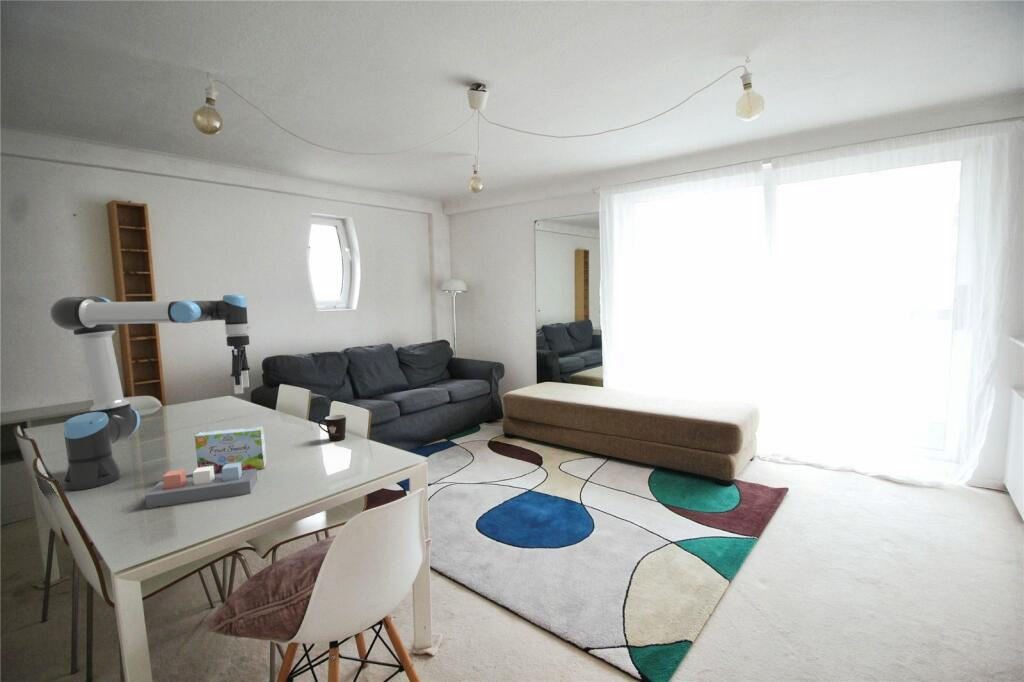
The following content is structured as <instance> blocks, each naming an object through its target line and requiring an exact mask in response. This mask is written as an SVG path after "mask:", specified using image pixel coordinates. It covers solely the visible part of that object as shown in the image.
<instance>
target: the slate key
mask: <svg viewBox="0 0 1024 682" xmlns="http://www.w3.org/2000/svg"><path fill="white" fill-rule="evenodd" d="M241 476H242V468H241V462H239V463H231V464H225V465H224V467H223V468H222V477H223V481H230V480H237V479H240V478H241Z"/></svg>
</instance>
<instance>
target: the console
mask: <svg viewBox="0 0 1024 682" xmlns="http://www.w3.org/2000/svg"><path fill="white" fill-rule="evenodd" d="M257 471H258V470H257V469H250V470H242V476H241V478H240V479H237V480H230V481H223V477H222V473H219V474H214V477H215V479H214V480H213V482H212V483H208V484H200V485H194V480H193V476H191V477H186V484H185V485H184V486H183V487H178V488H171V489H164V483H163V480H160V481H159V482H158V483H156V485H155V486H153V487H152V489H150V490H149V491H148V492H147V493H146V494H145V505H146V509H153V508H158V506H160V507H165V506H166V505H167V506H174V505H179V504H180V505H181V504H185V503H186V504H187V503H193V502H199V501H206V500H207V501H208V500H214V499H215V500H216V499H219V498H229V497H234V496H240V495H248V494H251V493H253V489H254V487H255V486H256V483H257V481H258V472H257ZM167 506H166V507H167Z"/></svg>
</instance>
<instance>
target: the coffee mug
mask: <svg viewBox="0 0 1024 682" xmlns="http://www.w3.org/2000/svg"><path fill="white" fill-rule="evenodd" d="M321 422H325V426H326V429H325V428H323V427H322V426H321ZM346 423H347V415H346V414H333V415H329V416H326V417H325V418H324V419H320V420H319V421H318V427H319V428H320V429H321V430H322V431H324V432H325V433H327V436H328V440H329V442H334V443H335V442H336V443H337V442H341V441H344V440H346V427H347V425H346Z"/></svg>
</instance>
